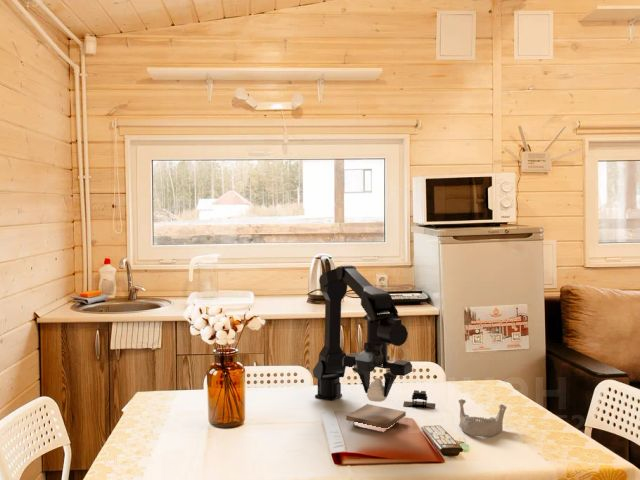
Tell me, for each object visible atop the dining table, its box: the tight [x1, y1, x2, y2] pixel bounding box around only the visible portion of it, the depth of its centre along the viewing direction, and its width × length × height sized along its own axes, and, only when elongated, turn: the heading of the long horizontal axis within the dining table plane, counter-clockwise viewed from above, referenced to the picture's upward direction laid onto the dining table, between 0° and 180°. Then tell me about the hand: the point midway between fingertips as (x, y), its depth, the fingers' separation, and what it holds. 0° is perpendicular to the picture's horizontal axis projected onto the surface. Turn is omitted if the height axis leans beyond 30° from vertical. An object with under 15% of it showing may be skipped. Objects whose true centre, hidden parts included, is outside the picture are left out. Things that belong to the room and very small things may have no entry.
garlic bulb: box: [366, 376, 388, 402], centre depth 168 cm, size 6×6×5 cm
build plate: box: [402, 390, 436, 410], centre depth 185 cm, size 12×7×5 cm, turn 78°
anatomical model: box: [458, 398, 507, 438], centre depth 164 cm, size 13×11×10 cm
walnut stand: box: [345, 403, 407, 428], centre depth 168 cm, size 12×12×3 cm
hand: (376, 394), depth 168 cm, fingers closed on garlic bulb, 5 cm apart
